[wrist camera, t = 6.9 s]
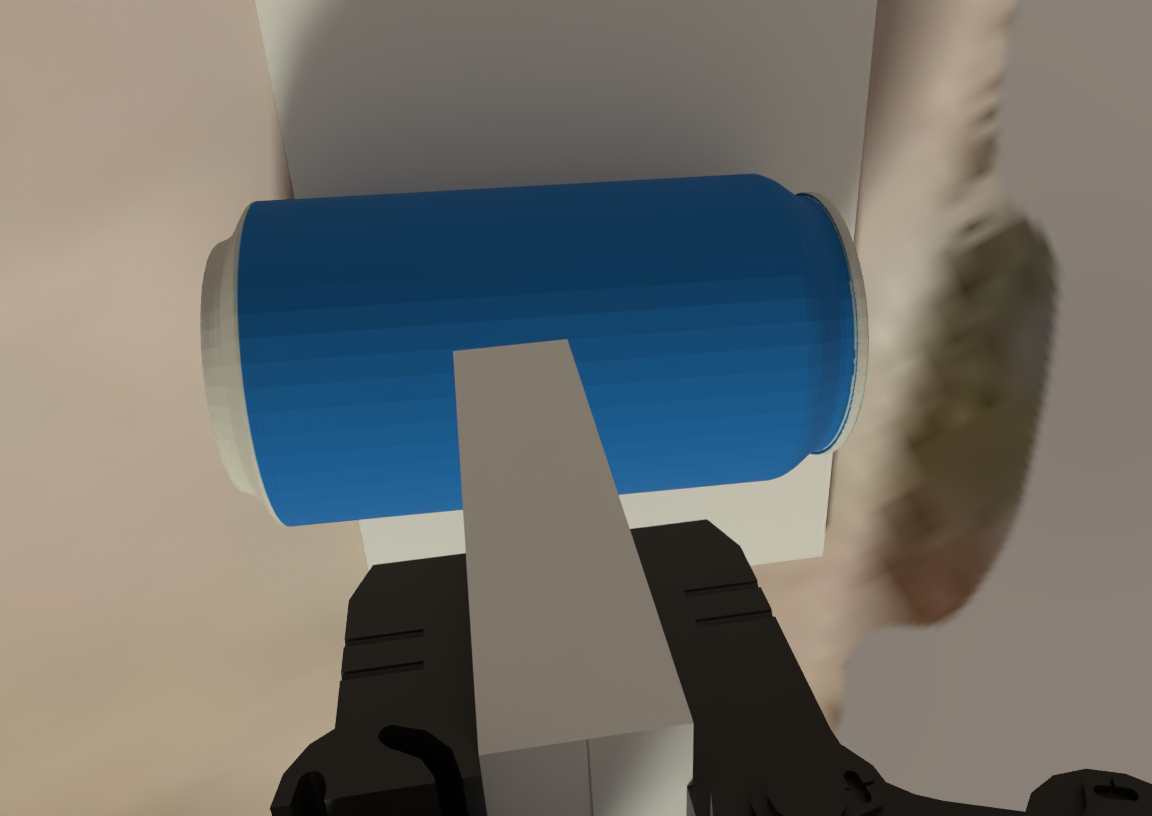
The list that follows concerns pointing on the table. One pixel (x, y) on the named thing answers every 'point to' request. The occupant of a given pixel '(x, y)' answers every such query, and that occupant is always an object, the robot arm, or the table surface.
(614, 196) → the beverage can
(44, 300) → the table surface
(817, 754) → the robot arm
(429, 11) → the flat white box
